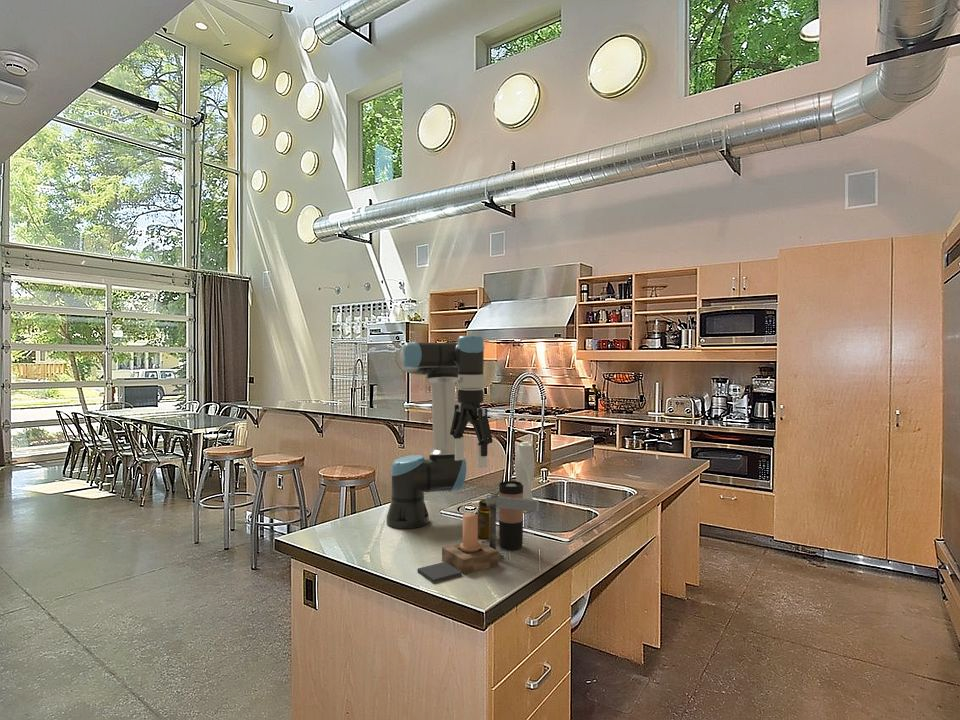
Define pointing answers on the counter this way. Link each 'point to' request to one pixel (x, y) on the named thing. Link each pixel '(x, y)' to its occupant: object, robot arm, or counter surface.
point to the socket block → (477, 559)
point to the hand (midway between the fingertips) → (470, 463)
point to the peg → (470, 534)
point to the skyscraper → (525, 468)
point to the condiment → (483, 521)
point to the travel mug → (510, 518)
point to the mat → (439, 572)
